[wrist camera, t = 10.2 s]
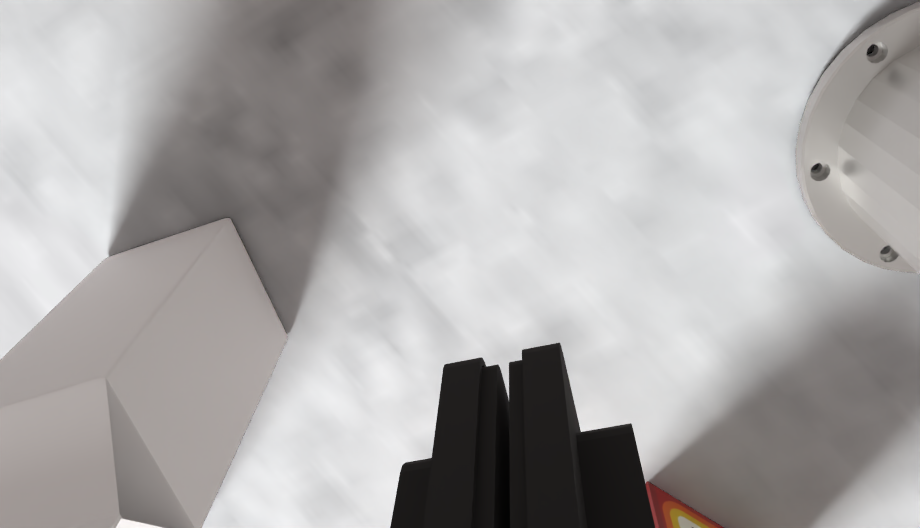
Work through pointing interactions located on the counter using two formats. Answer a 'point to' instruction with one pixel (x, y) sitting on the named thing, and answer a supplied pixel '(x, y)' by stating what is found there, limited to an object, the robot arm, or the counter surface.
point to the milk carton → (137, 388)
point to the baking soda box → (674, 511)
